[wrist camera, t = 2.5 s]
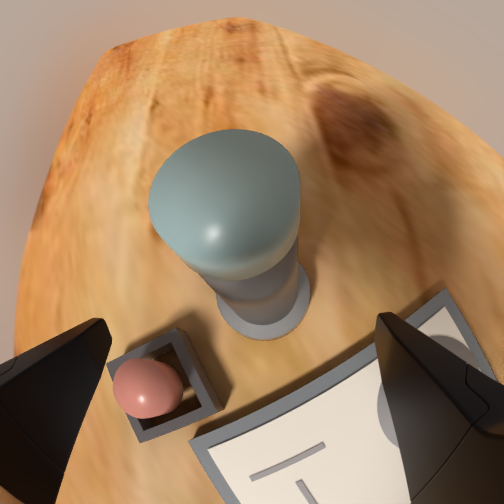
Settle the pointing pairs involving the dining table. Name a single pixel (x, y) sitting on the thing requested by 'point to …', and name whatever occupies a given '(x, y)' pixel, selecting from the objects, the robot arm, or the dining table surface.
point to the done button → (147, 388)
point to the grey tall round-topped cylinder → (237, 227)
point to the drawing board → (328, 431)
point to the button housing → (194, 373)
